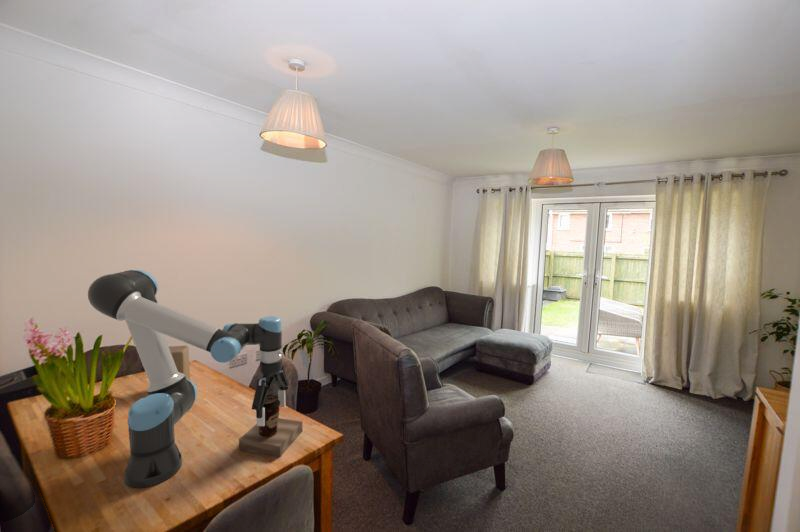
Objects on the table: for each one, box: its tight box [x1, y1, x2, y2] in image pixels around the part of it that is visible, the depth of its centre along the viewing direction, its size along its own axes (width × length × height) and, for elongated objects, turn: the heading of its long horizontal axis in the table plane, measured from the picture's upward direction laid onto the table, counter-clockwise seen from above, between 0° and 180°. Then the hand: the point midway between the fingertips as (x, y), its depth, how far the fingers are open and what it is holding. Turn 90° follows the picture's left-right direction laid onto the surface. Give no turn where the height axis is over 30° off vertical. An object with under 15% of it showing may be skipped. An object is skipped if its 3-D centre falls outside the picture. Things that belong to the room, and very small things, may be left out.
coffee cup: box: [259, 394, 280, 437], centre depth 128 cm, size 9×8×13 cm
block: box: [168, 345, 191, 381], centre depth 168 cm, size 10×10×20 cm
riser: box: [238, 417, 304, 458], centre depth 131 cm, size 16×16×4 cm
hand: (271, 415), depth 130 cm, fingers open, 13 cm apart
